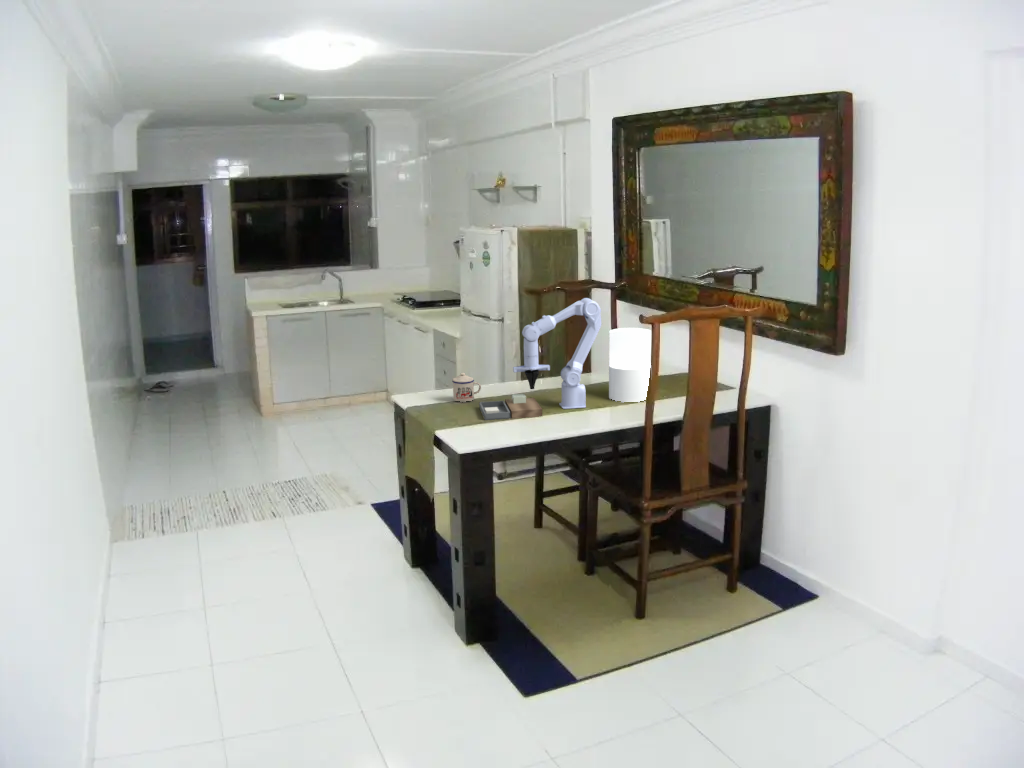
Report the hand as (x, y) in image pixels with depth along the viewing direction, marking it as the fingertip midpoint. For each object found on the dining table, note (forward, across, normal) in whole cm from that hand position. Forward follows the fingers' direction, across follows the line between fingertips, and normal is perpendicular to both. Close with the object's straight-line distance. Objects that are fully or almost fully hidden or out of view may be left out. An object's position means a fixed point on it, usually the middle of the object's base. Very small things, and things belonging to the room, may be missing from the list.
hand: (532, 388), depth 337 cm
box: (+8, -16, -3) cm, 18 cm away
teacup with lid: (+8, -24, +20) cm, 33 cm away
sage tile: (+5, -5, +1) cm, 8 cm away
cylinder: (+9, +43, +8) cm, 44 cm away
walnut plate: (+8, -4, -3) cm, 10 cm away
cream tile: (+5, -18, -7) cm, 20 cm away
